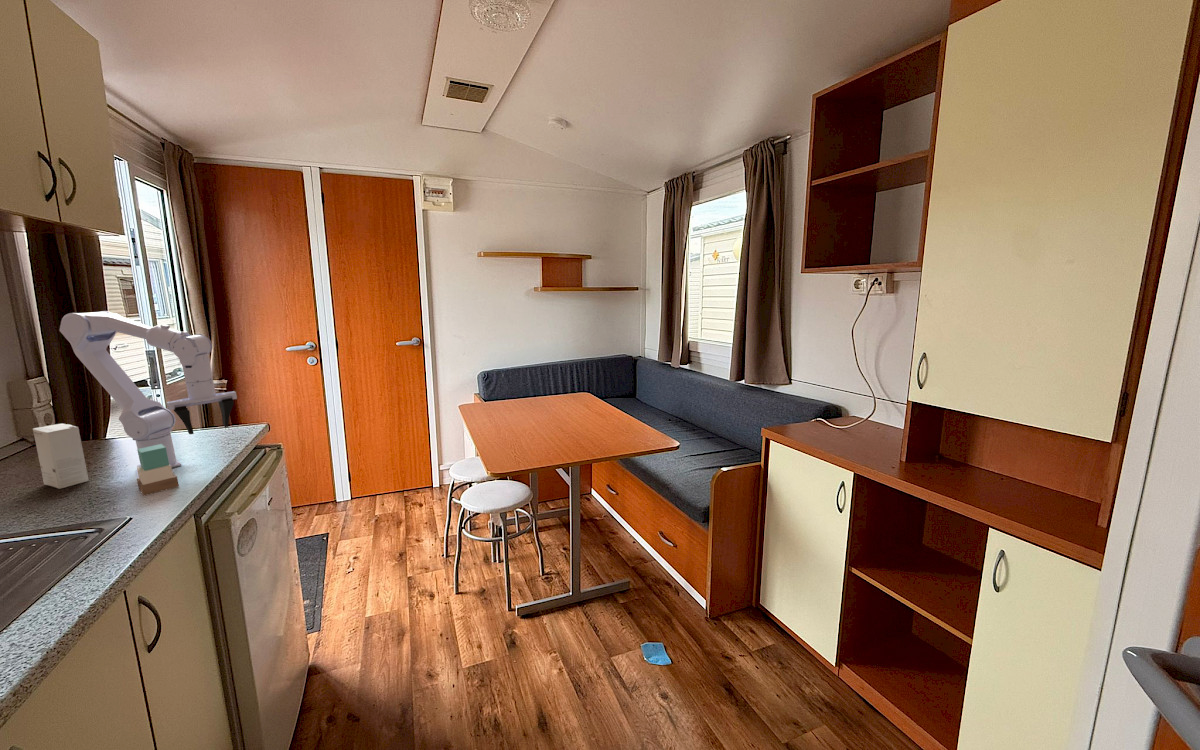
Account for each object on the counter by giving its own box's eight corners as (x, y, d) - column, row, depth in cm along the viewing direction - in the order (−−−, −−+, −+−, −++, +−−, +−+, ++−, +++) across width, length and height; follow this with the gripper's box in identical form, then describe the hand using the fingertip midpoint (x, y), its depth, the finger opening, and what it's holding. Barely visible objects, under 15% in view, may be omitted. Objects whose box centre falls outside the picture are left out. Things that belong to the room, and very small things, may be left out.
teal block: (141, 466, 120) (137, 449, 119) (165, 461, 123) (161, 443, 122) (144, 470, 117) (140, 452, 116) (169, 464, 120) (165, 447, 119)
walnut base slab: (139, 490, 120) (136, 479, 120) (173, 481, 125) (171, 470, 125) (144, 497, 116) (141, 485, 116) (179, 488, 121) (176, 476, 121)
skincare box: (43, 485, 125) (28, 428, 122) (75, 476, 130) (62, 422, 128) (60, 489, 122) (45, 431, 119) (92, 480, 127) (78, 424, 124)
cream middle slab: (139, 479, 120) (136, 467, 119) (168, 472, 124) (166, 461, 123) (143, 484, 116) (140, 472, 116) (173, 477, 120) (170, 465, 120)
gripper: (167, 387, 123) (177, 439, 126) (236, 377, 134) (245, 425, 137) (161, 384, 128) (171, 434, 130) (228, 375, 138) (237, 421, 141)
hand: (208, 429), depth 134 cm, fingers open, 7 cm apart
